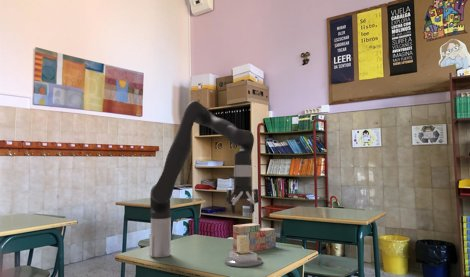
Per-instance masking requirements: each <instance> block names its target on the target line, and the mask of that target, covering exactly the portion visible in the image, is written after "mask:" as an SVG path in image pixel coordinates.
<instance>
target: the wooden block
mask: <svg viewBox="0 0 470 277" xmlns="http://www.w3.org/2000/svg"><path fill="white" fill-rule="evenodd" d="M237 254H239V255H244V254H249V236H246V235H239V236H237Z"/></svg>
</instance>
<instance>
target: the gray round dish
mask: <svg viewBox="0 0 470 277" xmlns="http://www.w3.org/2000/svg"><path fill="white" fill-rule="evenodd" d="M223 262H224V264H225V265H226V266H229V267H233V268H252V267H253V268H254V267H258V266H260V265H262V263H263V259H262V258H261V257H258V253H256V252H254V251H250V250H249V254H244V255H239V254H237V251H234V250H231V251H229V255H228V256H227V257H226V258H225V259H224V260H223Z"/></svg>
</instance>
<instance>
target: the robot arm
mask: <svg viewBox="0 0 470 277" xmlns="http://www.w3.org/2000/svg"><path fill="white" fill-rule="evenodd" d="M194 124H197V125H201V126H204V127H207V128H209V129H212V130H213V131H214V132H215V133H217V134H219V135H221V136H222V137H223V138H226V139H227V140H228V141H229V142H230V143H231V144H233V145H235V146H238V147H240V149H239V150H238V151H236V152H235V153H234V168H233V189H230V188H228V189H226V199H225V202H226V204H229V206H230V213H231V214H232V215H235V214H236V203H237V202H238V201H239V200H247V201H248V202H249V213H250V214H254V212H255V206H256V204H258V203H259V202H260V200H259V199H260V198H259V189H257V188H253V189H252V167H251V166H252V165H251V163H252V162H251V161H252V158H251V157H252V152H253V147H254V144H255V138H254V134H253V133H252V131H250V130H245V129H240V128H237V126H236V125H235V124H234V123H232V122H231V121H229V120H227V119H225V118H221V117H217V116H216V115H214V113H212V112H211V111H209V109H207V107H205V105H203V104H202V103H200V102H199V101H197V100H192V101H190V102H189V103H188V104H187V105H186V107H185V109H184V111H183V114H182V117H181V121H180V124H179V126H178V129H177V132H176V135H175V137H174V139H173V140H172V143H171V145H170V147H169V150H168V152H167V155H166V159H165V162H164V166H163V170H162V172H161V175H160V176H159V178H158V180H157V183H156V184H154V185H153V186H152V188H151V189H150V197H149V198H150V204H149V206H150V207H149V208H150V209H149V210H150V234H149V252H148V253H149V256H150V257H151V258H165V257H166V258H167V257H170V256H171V249H172V248H171V244H172V243H171V241H172V240H171V238H172V234H171V233H172V231H171V229H172V226H171V225H172V213H171V212H172V211H171V198H172V196H173V193H174V192H173V191H174V189H175V185H176V183H177V179H178V177H179V175H180V173H181V171H182V169H183V168H184V165H185V164H186V161H187V160H188V157H189V156H190V155H189V154H190V152H191V148H192V129H193V127H194ZM233 194H234V196H233V197H232V195H233ZM252 195H253V197H252Z"/></svg>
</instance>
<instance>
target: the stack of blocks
mask: <svg viewBox="0 0 470 277" xmlns="http://www.w3.org/2000/svg"><path fill="white" fill-rule="evenodd" d="M239 235H246V236H249V250H250V251H252V252H254V250H255V251H260V250H261V249H262V250H268V249H273V248H274V249H275V248H276V247H277V245H276V241H277V240H276V239H277V238H276V229H275V228H271V227H261V224H259V223H255V222H254V223H253V222H252V223H244V224H235V225H234V224H233V225H232V251H237V236H239Z"/></svg>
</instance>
